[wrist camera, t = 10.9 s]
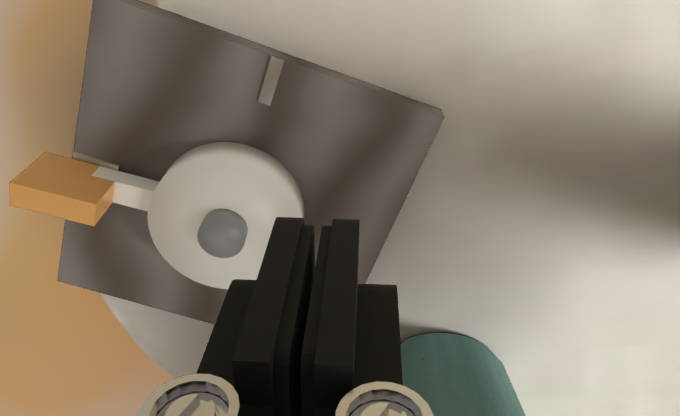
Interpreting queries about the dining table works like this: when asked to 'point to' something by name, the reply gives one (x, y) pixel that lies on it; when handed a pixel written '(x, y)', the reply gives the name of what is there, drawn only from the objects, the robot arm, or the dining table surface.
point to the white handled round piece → (178, 204)
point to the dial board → (228, 126)
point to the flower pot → (457, 376)
